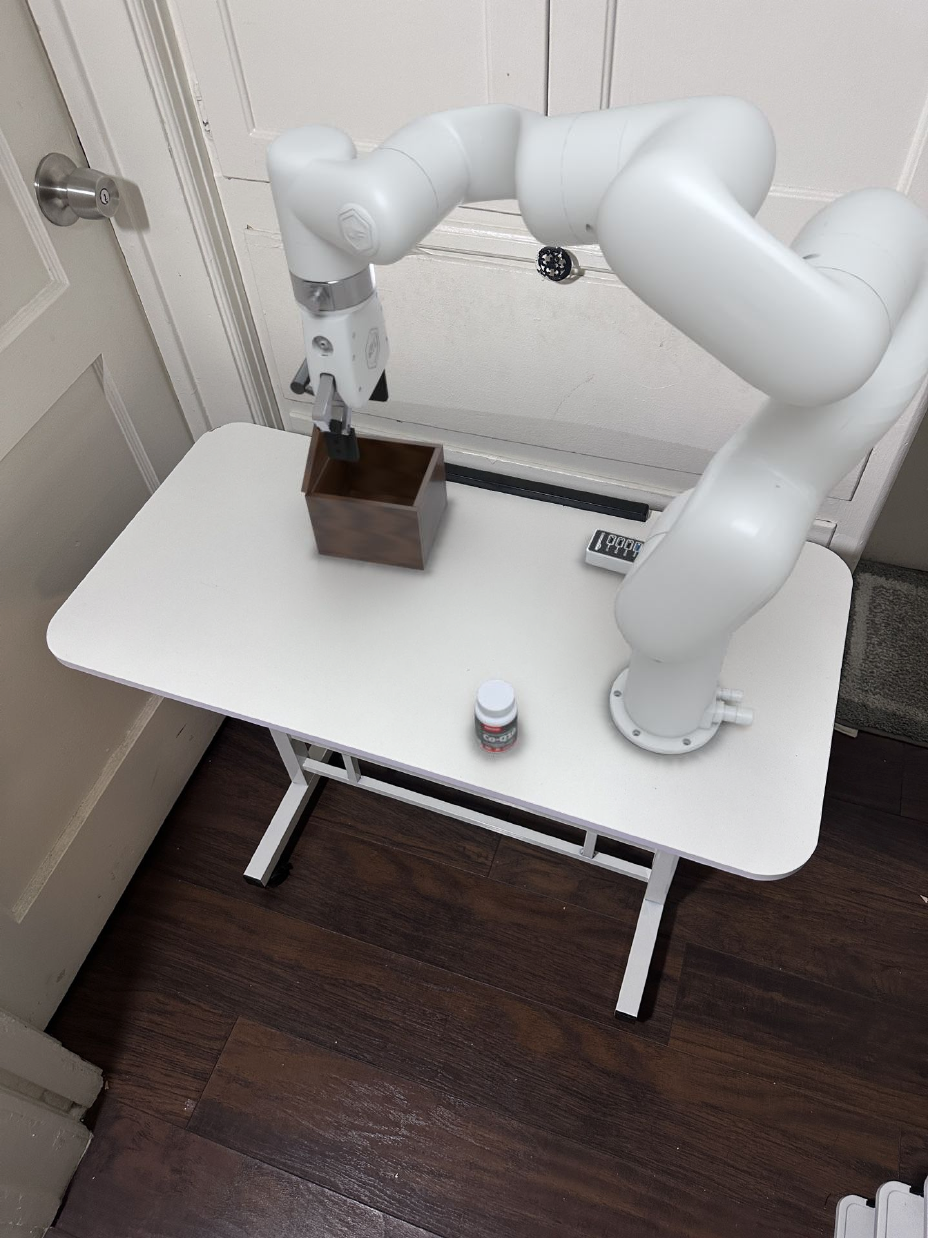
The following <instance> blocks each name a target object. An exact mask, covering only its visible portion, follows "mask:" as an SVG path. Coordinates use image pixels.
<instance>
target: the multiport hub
mask: <svg viewBox="0 0 928 1238" xmlns="http://www.w3.org/2000/svg"><path fill="white" fill-rule="evenodd" d="M644 542H645V540H642V539H638V538H635V537H631V536H627V535H624V534H620V533H616V532H614V531H613V532H612V531H609V530H605V529H601V528H596V529H595V530H594V532H593V535H592V536H591V538H590V541H589V542H588V545H587V547H586V550H585V560H584V561H585V563H586V564H588V565H592V566H595V567H598V568H602V569H606V570H609V571H612V572H616V573H619V574H622V575H625V576H626V575H627V573H628V571H629V569H630V568H631V566H632V564H633V562H634V561H635V559H636V557H637V555H638V554H639V552H640V549H641V547H642V546H643V544H644Z"/></svg>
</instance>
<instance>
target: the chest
mask: <svg viewBox="0 0 928 1238" xmlns="http://www.w3.org/2000/svg"><path fill="white" fill-rule="evenodd" d="M355 434H356V439H357V444H358V450H359V455H360V457H359V460H358V461H357V462H351V461H344V460H337V459H331V458H330V457H329V456H328V452H327V454H326V456H325V458H324V460H323V462H322V464H321V466H320V468H319V470H318V472H317V474H316V476H315V478H314V480H313V482H312V484H311V486H310V488H309V490H308V492H307V494H306V493H304V499H305V503H306V508H307V511H308V516H309V519H310V524H311V527H312V531H313V536H314V540H315V545H316V548H317V552H318V555H321V556H328V557H334V558H341V559H348V560H355V561H361V562H367V563H373V564H379V565H386V566H393V567H399V568H404V569H411V570H419V571H425V568H426V566H427V563H428V561H429V558H430V554H431V552H432V549H433V546H434V543H435V541H436V538H437V535H438V532H439V529H440V527H441V524H442V521H443V519H444V517H445V516H444V515H445V513H446V511H447V508H448V504H449V503H448V493H447V492H448V491H447V478H446V466H445V465H446V464H445V453H444V444H442V443H437V442H427V441H420V440H412V439H404V438H397V437H391V436H390V437H389V436H382V435H373V434H367V433H366V434H365V433H359V432H355Z"/></svg>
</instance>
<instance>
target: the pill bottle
mask: <svg viewBox="0 0 928 1238" xmlns="http://www.w3.org/2000/svg"><path fill="white" fill-rule="evenodd" d="M473 711H474V733H475V739H476V742H477V744H478V746H479V747H480V749H482V750H483V751H485V752H488V753H491V754H502V753H503V754H504V753H506V752H508V751H509V750H511V749H512V748H513V747H514V746H515V744H516V742H517V739H518V725H519V723H518V718H519V717H518V712H519V710H518V702H517V700H516V697H515V690H514V689H513V687H512V685H511V684H509V683H508V682H507V681H505V680H502V679H490V680H486V681H485V682H483V683H481V685H480V686H479V688H478V690H477V692H476V700H475V702H474V706H473Z"/></svg>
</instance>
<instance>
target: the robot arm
mask: <svg viewBox="0 0 928 1238" xmlns="http://www.w3.org/2000/svg"><path fill="white" fill-rule="evenodd" d="M772 127H773V126H772V125H771V124H770V121H769V118H768V117H767V115H766V114H765V113H764V112H763V111H762V110H761V109H760V108H759V107H758V106H757V105H756V104H754V103H753V102H752V101H749V100H747V99H745V98H743V97H739V96H736V95H730V94H705V95H695V96H687V97H686V96H685V97H679V98H672V99H667V100H666V99H665V100H658V101H651V102H644V103H637V104H630V105H624V106H616V107H608V108H602V109H595V110H587V111H579V112H572V113H566V114H557V115H543V114H542V113H540V112H538V111H535V110H532V109H528V108H525V107H521V106H518V105H514V104H511V103H498V102H497V103H486V104H477V105H471V106H465V107H459V108H453V109H446V110H440V111H436V112H435V111H434V112H431V113H427V114H424V115H422V116H419V117H417V118H414V119H412V120H410V121H409V122H407V123H406V124H405V125H403V126H401V127H400V128H398V129H397V130H396V131H395V132H393V133H392V134H390V135H389V136H388V137H387V138H386V139H385V140H384V141H382V142H381V143H380V144H378V145H377V146H376V147H374V149H372V150H371V151H369V152H367V153H365V154H362V155H361V156H359V155H358V154H359V153H358V149H357V147H356V144H355V142H354V140H353V139H352V138H351V136H350V135H349V134H348V133H347V132H345V131H344V130H342V129H340V128H338V127H336V126H332V125H328V124H305V125H301V126H296V127H292V128H289V129H287V130H285V131H283V132H281V133H279V134H277V135H276V136H275V137H274V138H273V139H272V141H271V142H270V143H269V145H268V147H267V149H266V153H265V166H266V172H267V176H268V181H269V186H270V191H271V194H272V199H273V203H274V209H275V213H276V217H277V222H278V226H279V231H280V236H281V241H282V246H283V250H284V255H285V259H286V263H287V268H288V273H289V278H290V282H291V286H292V292H293V297H294V301H295V304H296V306H298V307H299V308H300V309H301V311H300V312H301V313H300V314H301V323H302V325H301V326H302V334H303V343H304V344H303V345H304V351H305V358H307V364H308V370H309V375H310V380H311V382H310V385H311V387H312V388H313V392H314V395H315V396H314V398H315V399H314V404H313V407H312V412H311V420H312V421H313V424H314V423H315V424H316V425H317V429H318V430H320V431H321V432H323V433H324V438H325V443H326V447H327V452H328V456H329V457H330V458H331V459H337V460H344V461H351V462H357V461H358V460H359V457H360V455H359V450H358V444H357V439H356V434H355V433H356V429H355V428H354V427H351V426H352V417H353V415H352V414H353V409H355V410H360V409H362V408H364V406H365V405H366V404H367V403H368V401H373V402H379V403H380V402H381V403H386V402H387V401H388V399H389V398H390V396H389V389H388V382H387V375H386V369H385V368H386V366H387V364H388V361H389V359H390V354H391V353H390V351H391V349H390V344H389V343H390V342H389V336H388V331H387V327H386V326H387V325H386V321H385V316H384V311H383V306H382V301H381V297H380V293H379V290H378V287H377V286H378V285H377V282H376V274H375V268H374V266H375V265H376V266H389V265H394V264H395V263H398V262H399V261H401V260H403V259H404V258H405V257H406V256H408V255H409V254H410V253H411V252H412V251H413V250H414V249H415V248H416V247H417V246H418V245H419V244H421V243H422V241H424V240H425V239H426V237H428V236H429V235H430V234H431V233H432V232H433V231H434V230H435V229H436V228H438V226H439V225H440V224H441V223H442V222H443V221H444V220H445V219H446V218H447V217H448V216H449V215H451V213H453V212H454V211H456V209H458V207H460V206H463V205H467V204H474V203H480V202H491V201H493V202H494V201H505V200H508V201H509V200H511V201H512V200H513V201H514V200H515V201H517V206H518V210H519V212H520V216H521V218H522V222H523V223H524V226H525V227H526V229H527V231H528V232H529V234H530V235H531V236H532V237H533V238H534V239H535V240H536V242H538V243H540V244H542V245H544V246H547V247H550V248H565V247H566V248H567V247H578V246H579V247H580V246H593V245H599V249H600V251H601V254H602V256H603V259H604V260H605V262H606V264H607V266H608V267H609V268H610V270H611V271H612V272H613V273H614V275H615V276H616V277H617V279H618V280H619V281H620V282H621V283H622V284H623V285H624V286H625V287H626V288H627V289H629V290H630V291H631V293H633V294H634V295H635V296H636V298H638V299H639V300H640V301H641V302H643V304H645V305H646V306H647V307H649V308H650V309H651V310H652V311H653V312H654V313H656V314H657V315H658V316H660V317H661V318H662V319H663V320H665V321H666V322H667V323H669V324H670V325H671V326H672V327H673V328H675V329H676V330H678V331H679V332H681V333H682V334H683V335H684V336H686V337H687V338H689V340H691V341H692V342H694V343H695V344H696V345H698V346H699V347H700V348H701V349H703V350H704V351H705V352H706V353H708V354H710V356H712V357H713V358H714V359H716V360H717V361H718V362H720V363H721V364H722V365H723V366H725V367H726V368H727V369H729V371H731V372H732V373H734V374H735V375H736V376H737V377H739V378H741V380H743V381H744V382H745V383H747V384H748V385H750V386H751V387H752V388H754V389H755V390H758V391H760V392H761V393H763V394H765V395H766V397H765V398H764V399H763V401H762V402H761V403H760V404H759V405H758V406H757V408H756V409H754V411H753V412H752V413H751V415H750V416H749V417H748V418H747V419H746V420H745V422H743V424H742V425H741V426H740V427H739V428H738V429H737V431H736V432H734V434H732V436H731V437H730V438H729V439H728V440H727V441H726V442H725V443H724V444H723V445H722V446H721V447H720V448H719V449H718V450H717V452H716V453H715V454H714V455H713V456H712V458H711V460H710V461H709V463H708V464H707V466H706V467H705V469H704V471H703V472H702V474H701V476H700V478H699V479H698V481H697V483H696V485H695V487H691V488H689V489H686V490H685V491H683V492H681V493H680V494H678V495H677V496H676V497H674V498H673V499H672V500H670V502H669V503H668V504H667V505H666V507H665V508H664V509H663V510H662V512H661V513H660V515H659V517H658V518H657V519H656V521H655V522H654V524H653V526H652V528H651V530H650V532H649V533H648V535H647V537H646V538H645V540H644V541H645V542H644V544H643V546H642V547H641V549H640V552H639V554H638V555H637V557H636V559H635V561H634V562H633V564H632V566H631V568H630V569H629V571H628V573H627V575H626V574H625V576H624V578H623V580H622V582H621V584H620V585H619V588H618V590H617V592H616V594H615V599H614V604H613V613H614V619H615V623H616V627H617V629H618V631H619V633H620V635H621V637H622V638H623V640H624V641H625V642H626V643H627V644H628V646H630V648H631V651H630V657H629V663H628V666H627V667H626V668H624V670H622V671H621V672H620V673H619V674H618V675H617V676H616V679H615V680H614V682H613V684H612V686H611V689H610V695H609V710H610V714H611V718H612V720H613V722H614V724H615V726H616V728H617V729H618V730H619V732H620V733H621V734H622V735H623V736H624V737H625V738H626V739H627V740H629V741H630V742H632V744H634V745H636V746H638V747H639V748H642V749H644V750H646V751H649V752H653V753H656V754H663V755H681V754H686V753H689V752H693V751H695V750H697V749H699V748H701V747H703V746H704V745H706V743H708V742H710V740H711V739H712V738H713V737H715V734H716V733H717V730H719V727H720V724H722V721H724V722H729V723H734V724H735V725H742V726H748V727H751V726H752V724H753V722H754V721H753V720H754V712H755V710H754V708H751V707H744V706H740V705H739V706H738V705H737V706H735V705H728V704H725V701H729V702H732V703H739V704H742V703H743V698H744V691H743V690H740V689H732V688H731V689H729V688H724V687H723V685H721V684H718V683H719V678H720V675H721V670H722V668H723V666H724V662H725V659H726V655H727V651H728V648H729V644H730V642H731V639H732V636H733V634H734V633H735V632H736V631H738V630H739V629H740V628H741V627H743V625H744V624H746V623H747V622H748V621H749V620H750V619H752V618H753V617H754V616H755V615H756V614H757V613H758V612H760V611H761V610H762V609H763V608H764V607H765V606H767V604H768V603H770V602H771V601H772V600H773V598H775V596H776V595H777V594H778V593H779V591H780V590H781V589H782V587H783V586H784V585H785V583H786V582H787V580H788V579H789V578H790V576H791V574H792V573H793V570H794V569H795V567H796V564H797V562H798V560H799V559H800V556H801V553H802V552H803V550H804V549H803V548H804V547H805V544H806V541H807V539H808V538H809V535H810V534H811V533H810V532H811V531H812V528H813V526H814V524H815V521H816V520H817V517H818V515H819V513H820V511H821V508H822V506H823V504H824V502H825V500H826V499H827V498H828V496H829V495H830V494H831V492H832V491H833V490H834V489H835V488H836V487H837V486H838V485H839V484H840V483H841V482H842V481H843V480H844V479H845V478H846V477H847V476H848V475H849V474H850V473H851V472H852V471H853V470H854V469H855V467H857V466H858V465H859V464H860V462H861V461H862V460H863V459H864V458H865V457H866V456H867V455H868V454H869V453H870V452H871V450H872V449H873V448H874V447H876V445H877V444H878V443H879V442H880V441H881V440H883V438H884V437H885V436H886V435H887V434H888V432H889V431H890V430H891V429H892V428H893V427H894V426H895V424H896V423H897V422H898V421H899V419H901V417H902V416H903V414H904V413H905V412H906V410H907V409H908V408H909V407H910V405H911V403H912V402H913V400H914V399H915V397H916V396H917V394H918V392H919V390H920V389H921V387H922V386H923V384H924V382H925V380H926V378H927V376H928V214H927V213H926V212H925V210H924V209H923V208H922V207H921V206H920V205H919V204H918V203H917V202H916V201H915V200H913V199H912V198H911V197H909V196H908V195H907V194H905V193H903V192H901V191H898V190H896V189H892V188H889V187H879V186H870V187H863V188H859V189H856V190H852V191H851V192H848V193H845V194H843V195H841V196H839V197H837V198H836V199H834V200H833V201H831V202H829V203H827V204H826V205H825V206H823V207H822V208H821V209H820V210H818V211H817V212H816V213H815V214H814V215H813V216H812V217H811V218H810V219H808V221H806V223H805V224H804V225H803V226H802V227H801V228H800V230H799V231H798V232H797V234H796V235H795V236H794V237H793V239H792V241H791V242H790V243H789V246H788V245H787V244H786V243H784V242H783V241H782V240H781V239H779V238H778V237H777V236H775V234H773V233H772V232H771V231H769V230H768V229H767V228H766V227H764V226H763V225H762V224H761V223H760V222H759V221H757V219H756V216H757V215H758V213H759V211H760V210H761V207H762V206H763V205H764V202H765V201H766V199H767V196H768V194H769V192H770V190H771V187H772V184H773V181H774V178H775V177H774V176H775V172H776V165H777V143H776V136H775V133H774V130H773V128H772ZM335 392H338V393H339V395H340V396H341V398H342V399H343V401H342V400H334V399H333V398H334V393H335ZM331 406H339V407H343V413H342V417H341V421H339V420H336V419H332V416H331Z"/></svg>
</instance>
